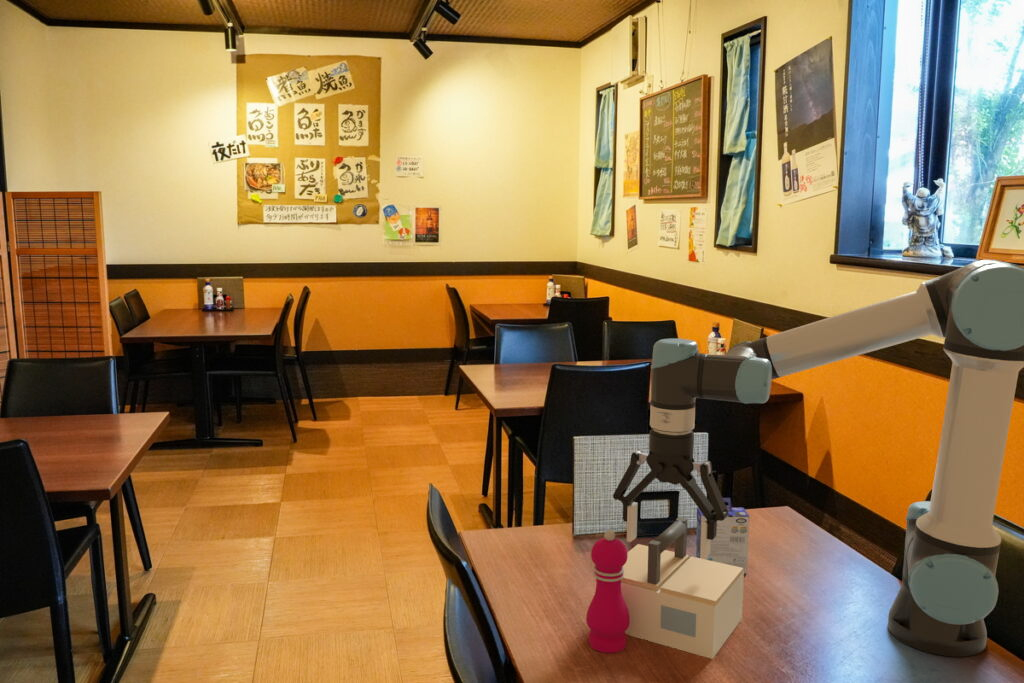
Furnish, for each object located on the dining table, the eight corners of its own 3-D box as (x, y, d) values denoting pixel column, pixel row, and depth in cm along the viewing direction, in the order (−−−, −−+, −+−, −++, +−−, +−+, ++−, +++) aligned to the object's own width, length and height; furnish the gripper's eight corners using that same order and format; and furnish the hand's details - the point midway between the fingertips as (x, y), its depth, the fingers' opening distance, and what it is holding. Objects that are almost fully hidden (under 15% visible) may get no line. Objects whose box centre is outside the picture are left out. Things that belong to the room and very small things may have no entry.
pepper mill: (601, 629, 147) (603, 519, 144) (637, 642, 143) (640, 529, 140) (577, 645, 142) (579, 531, 139) (614, 659, 137) (616, 542, 134)
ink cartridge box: (741, 563, 175) (744, 495, 172) (748, 574, 169) (751, 505, 167) (693, 562, 175) (696, 495, 173) (699, 574, 169) (701, 505, 167)
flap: (688, 559, 154) (690, 518, 153) (657, 590, 142) (658, 546, 140) (637, 547, 159) (638, 508, 158) (603, 577, 147) (604, 534, 146)
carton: (741, 618, 151) (744, 566, 149) (712, 659, 137) (714, 602, 136) (637, 592, 161) (639, 543, 160) (600, 627, 148) (601, 574, 146)
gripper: (596, 424, 148) (593, 539, 151) (737, 445, 135) (731, 571, 138) (614, 415, 154) (611, 526, 158) (750, 435, 141) (744, 555, 145)
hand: (667, 547), depth 148 cm, fingers open, 13 cm apart
